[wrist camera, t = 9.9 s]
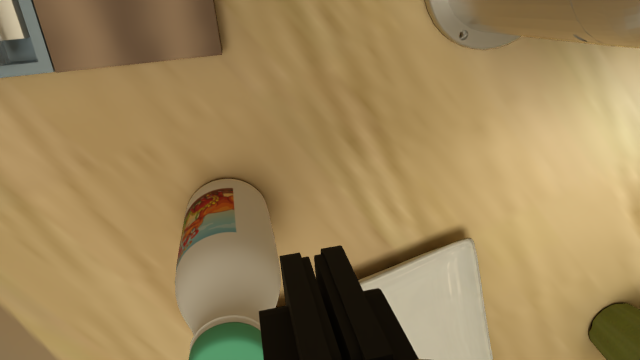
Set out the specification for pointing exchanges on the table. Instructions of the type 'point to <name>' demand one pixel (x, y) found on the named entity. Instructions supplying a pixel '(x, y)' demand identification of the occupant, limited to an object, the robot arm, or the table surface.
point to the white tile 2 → (12, 21)
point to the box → (28, 48)
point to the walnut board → (126, 31)
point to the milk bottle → (226, 270)
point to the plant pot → (617, 332)
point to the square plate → (439, 302)
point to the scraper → (3, 54)
